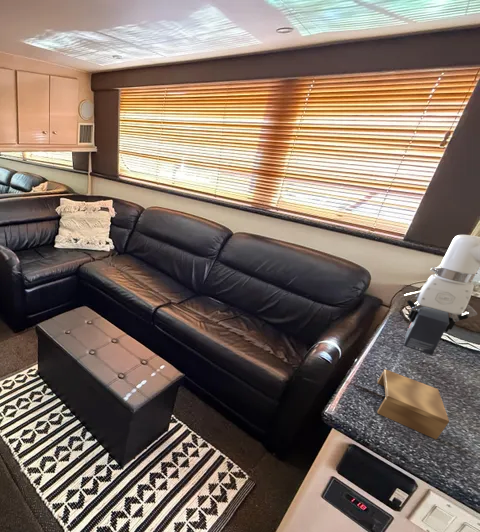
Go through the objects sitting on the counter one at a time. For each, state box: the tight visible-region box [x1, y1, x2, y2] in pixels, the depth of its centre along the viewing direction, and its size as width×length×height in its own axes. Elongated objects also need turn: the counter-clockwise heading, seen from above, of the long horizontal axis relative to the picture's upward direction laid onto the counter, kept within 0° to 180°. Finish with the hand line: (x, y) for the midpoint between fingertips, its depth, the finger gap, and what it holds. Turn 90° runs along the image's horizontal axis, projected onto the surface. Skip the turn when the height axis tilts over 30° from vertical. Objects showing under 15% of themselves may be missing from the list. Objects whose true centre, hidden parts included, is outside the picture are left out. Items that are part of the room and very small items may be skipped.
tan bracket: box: [377, 368, 450, 440], centre depth 84 cm, size 11×15×6 cm
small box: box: [403, 306, 450, 357], centre depth 104 cm, size 13×7×12 cm, turn 133°
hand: (427, 324), depth 103 cm, fingers closed on small box, 7 cm apart
